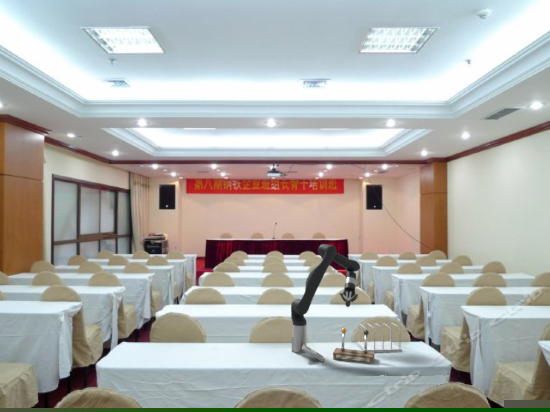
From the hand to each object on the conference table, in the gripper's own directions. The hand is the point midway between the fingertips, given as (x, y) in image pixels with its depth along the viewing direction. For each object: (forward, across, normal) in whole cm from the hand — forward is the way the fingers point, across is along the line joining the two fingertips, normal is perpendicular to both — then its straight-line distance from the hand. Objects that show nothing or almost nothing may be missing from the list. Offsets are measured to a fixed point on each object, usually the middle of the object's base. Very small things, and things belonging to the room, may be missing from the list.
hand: (347, 306), depth 276 cm
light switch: (+42, -17, -2) cm, 45 cm away
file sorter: (+15, +20, +24) cm, 35 cm away
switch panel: (+34, +7, +5) cm, 35 cm away
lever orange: (+32, 0, +2) cm, 32 cm away
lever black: (+32, +14, +2) cm, 35 cm away
